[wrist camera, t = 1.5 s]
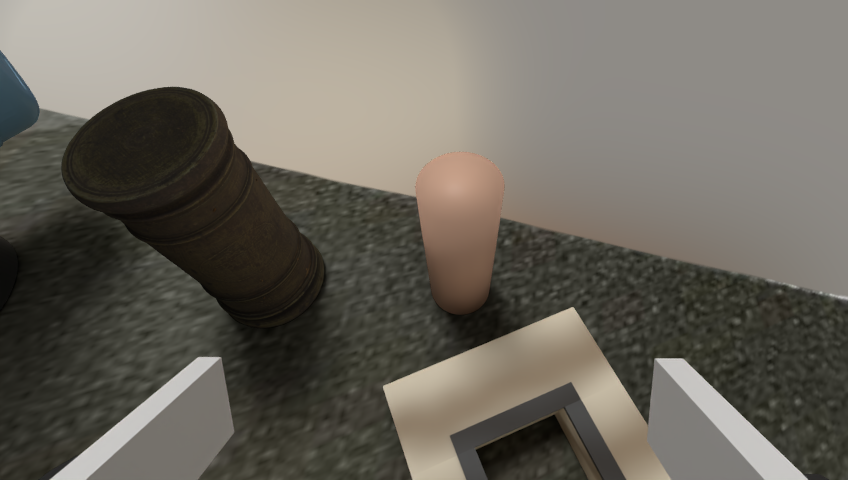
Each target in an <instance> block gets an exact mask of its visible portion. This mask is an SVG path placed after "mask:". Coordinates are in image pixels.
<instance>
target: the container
mask: <svg viewBox="0 0 848 480" xmlns="http://www.w3.org/2000/svg"><path fill="white" fill-rule="evenodd" d="M62 176H63V180H64V182H65V184H66V186H67V188H68V189H69V191H70V192H71V194H72V195H73V196H74V197H75V198H76V199H77V200H78V201H80V202H81V203H82V204H84V205H86V206H88V207H90V208H92V209H94V210H97V211H100V212H103V213H105V214H106V215H108V216H110V217H112V218H115V219H118V220H120V221H122V222H123V223H124V224H125V226H126V228H127V229H128V230H129V232H130V233H131V234H132V235H133V236H135V237H136V238H138V239H140V240H141V241H144V242H146V243H148V244H149V245H150V246H151V247H153V248H154V249H155V250H157V251H158V252H159V253H161V254H162V255H163V256H165V257H166V258H167V259H169V260H170V261H171V262H173V263H174V264H175V265H177V266H178V267H180V268H181V269H182V270H183V271H185V272H186V273H187V274H189V275H190V276H191V277H193V278H194V279H195V280H197V281H198V282H199V283H200V284H201V285H202V287H203V288H204V289H205V290H206V292H207V293H209V294H210V295H211V296H213V297H215V298H216V299H217V301H218V303H219V305H220V306H221V307H222V308H223V309H224V310H225V311H226V312H227V313H229V315H230V316H231V317H232V318H234V319H235V320H236V321H238V322H240V323H242V324H244V325H247V326H250V327H256V328H270V327H275V326H279V325H282V324H285V323H287V322H289V321H291V320H293V319H295V318H296V317H298V316H299V315H301V314H302V313H303V312H304V311H305V310H306V309H307V308H308V307H309V306H310V305H311V304H312V303H313V301H314V300H315V298H316V297H317V295H318V293H319V291H320V289H321V286H322V283H323V279H324V263H323V259H322V256H321V254H320V252H319V251H318V249H317V248H316V247H315V246H314V245H313V244H312V242H311V241H310V240H309V239H308V238H307V237H306V236H305V235H303V234H302V233H300V232H299V230H298V228H297V227H296V225H295V224H294V223H293V222H292V221H291V220H290V219H288V218H287V217H286V215H285V214H284V213H283V211H282V210H281V208H280V207H279V205H278V204H277V202H276V201H275V199H274V198H273V197H272V195H271V194H270V192H269V190H268V189H267V187H266V186H265V184H264V183H263V181H262V180H261V178H260V177H259V175H258V174H257V172H256V171H255V170H254V168H253V167H252V164H251V161H250V160H249V158H248V157H247V155H246V154H245V153H244V152H243V151H242V150H240V149H239V148H238V147H237V146H236V145H235V144H234V140H233V137H232V134H231V132H230V130H229V129H228V125H227V121H226V118H225V116H224V114H223V112H222V111H221V109H220V108H219V107H218V105H217V104H215V102H213V101H212V100H211V99H210V98H208V97H207V96H205V95H204V94H202V93H200V92H198V91H195V90H192V89H187V88H182V87H163V88H157V89H151V90H147V91H143V92H140V93H136V94H134V95H131V96H129V97H126V98H124V99H121V100H119V101H117V102H115V103H113V104H112V105H110V106H108V107H107V108H105V109H103V110H102V111H100V112H99V113H97V114H96V115H95V116H94V117H92V118H91V119H90V120H89V121H88V122H86V123H85V124H84V125H83V126H82V127H81V129H80V130H79V131H78V132H77V133H76V135H75V136H74V137H73V139H72V140H71V141H70V143H69V144H68V146H67V148H66V150H65V153H64V156H63V159H62Z"/></svg>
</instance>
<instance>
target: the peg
mask: <svg viewBox="0 0 848 480" xmlns="http://www.w3.org/2000/svg"><path fill="white" fill-rule="evenodd" d="M415 188H416V197H417V203H418V209H419V216H420V222H421V229H422V235H423V241H424V248H425V254H426V261H427V267H428V273H429V280H430V286H431V292H432V296H433V298H434V300H435V302H436V303H437V305H438V306H439V307H441V308H442V309H443V310H445V311H447V312H449V313H452V314H457V315H465V314H469V313H472V312H474V311H476V310H478V309H479V308H480V307H482V305H483V304H484V303H485V302H486V300H487V298H488V295H489V289H490V283H491V276H492V269H493V262H494V256H495V249H496V242H497V235H498V229H499V222H500V215H501V209H502V202H503V195H504V179H503V176H502V174H501V172H500V170H499V169H498V168H497V166H496V165H495V164H494V163H492V162H491V161H490V160H488V159H487V158H485V157H482V156H480V155H477V154H474V153H469V152H453V153H447V154H444V155H441V156H439V157H437V158H435V159H433V160H432V161H430V162H429V163H427V165H425V166H424V167H423V169H422V170H421V171H420V173H419V175H418V177H417V181H416V186H415Z"/></svg>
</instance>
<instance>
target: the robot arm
mask: <svg viewBox="0 0 848 480" xmlns="http://www.w3.org/2000/svg"><path fill="white" fill-rule="evenodd" d="M39 112H40V111H39V105H38V103H37V100H36V98H35V97H34V95H33V93H32V92H31V90H30V89H29V87H28V86H27V85H26V83H25V82H24V80H23V79H22V78H21V76H20V75H19V74H18V72H17V71H16V70H15V68H14V67H13V66H12V64H11V63H10V62H9V61H8V59H7V58H6V57H5V55H4V54H3V53H2V52H1V51H0V147H1V146H2V145H3V142H4V141H6V140H8V139H10V138H11V137H13V136H15V135H17V134H19V133H20V132H22V131H24V130H26V129H27V128H29V127H31V126H32V125H33V124H34V123H35V122H36V121H37V120H38V116H39ZM17 270H18V259H17V255H16V252H15V250H14V248H13V246H12V245H11V244H10V243H9V242H8V241H7V240H5V239H4V238H2V237H0V310H1V308H2V307H3V305H4V304H5V302H6V300H7V298H8V297H9V295H10V293H11V290H12V288H13V286H14V283H15V280H16V276H17ZM233 433H234V427H233V421H232V416H231V410H230V404H229V399H228V393H227V387H226V382H225V376H224V370H223V365H222V359H221V357H198V358H197V359H195V360H194V361H193V362H192V363H191V364H189V365H188V366H187V367H186V368H185V369H183V370H182V371H181V372H180V373H179V374H177V375H176V376H175V377H174V378H172V379H171V380H170V381H169V382H168V383H166V384H165V385H164V386H163V387H162V388H160V389H159V390H158V391H157V392H155V393H154V394H153V395H152V396H151V397H149V398H148V399H147V400H146V401H145V402H143V403H142V404H141V405H140V406H138V407H137V408H136V409H135V410H134V411H132V412H131V413H130V414H129V415H128V416H126V417H125V418H124V419H123V420H121V421H120V422H119V423H118V424H117V425H115V426H114V427H113V428H112V429H111V430H109V431H108V432H107V433H106V434H105V435H103V436H102V437H101V438H100V439H98V440H97V441H96V442H95V443H94V444H92V445H91V446H90V447H89V448H88V449H86V450H85V451H84V452H83V453H81V454H80V455H79V456H75V457H73V458H72V459H70V460H68V461H66V462H65V463H63V464H61V465H59V466H58V467H56V468H54V469H52V470H51V471H49V472H48V473H46V474H45V475H44V476H43V477H41V478H40V479H39V480H198V479H199V477H200V476H201V475H202V473H203V472H204V471H205V470H206V468H207V467H208V466H209V464H210V463H211V462H212V460H213V459H214V458H215V457H216V455H217V454H218V453H219V451H220V450H221V449H222V448H223V446H224V445H225V444H226V442H227V441H228V440H229V439H230V437H231V436H232V435H233ZM647 442H648V443H649V445H650V447H651V448H652V450H653V451H654V453H655V455H656V456H657V458H658V459H659V461H660V462H661V464H662V466H663V467H664V469H665V470H666V472H667V474H668V475H669V477H670V478H671V480H828V479H827V478H825V477H824V476H822V475H820V474H802V473H801V472H800V471H799V470H798V469H797V468H796V467H795V466H794V465H792V464H791V463H790V462H789V461H788V460H787V459H786V458H785V457H784V456H783V455H782V454H781V453H780V452H779V451H778V450H777V449H776V448H775V447H774V446H773V445H772V444H771V443H770V442H769V441H768V440H767V439H766V438H765V437H763V436H762V435H761V434H760V433H759V432H758V431H757V430H756V429H755V428H754V427H753V426H752V425H751V424H750V423H749V422H748V421H747V420H746V419H745V418H744V417H743V416H742V415H741V414H740V413H739V412H738V411H737V410H736V409H734V408H733V407H732V406H731V405H730V404H729V403H728V402H727V401H726V400H725V399H724V398H723V397H722V396H721V395H720V394H719V393H718V392H717V391H716V390H715V389H714V388H713V387H712V386H711V385H710V384H709V383H708V382H707V381H706V380H704V379H703V378H702V377H701V376H700V375H699V374H698V373H697V372H696V371H695V370H694V369H693V368H692V367H691V366H690V365H689V364H688V363H687V362H686V361H685V360H684V359H655V362H654V372H653V383H652V393H651V403H650V414H649V424H648V434H647Z"/></svg>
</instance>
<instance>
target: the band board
mask: <svg viewBox="0 0 848 480" xmlns="http://www.w3.org/2000/svg"><path fill="white" fill-rule="evenodd" d="M383 389H384V392H385V395H386V398H387V401H388V404H389V407H390V411H391V414H392V417H393V420H394V423H395V426H396V429H397V432H398V436H399V439H400V442H401V445H402V448H403V451H404V454H405V457H406V461H407V464H408V467H409V470H410V473H411V476H412V479H413V480H488V479H487V477H486V474H485V472H484V469H483V467H482V464H481V462H480V459H479V457H478V454H477V452H476V449H478V448H481V447H483V446H485V445H487V444H490V443H492V442H494V441H496V440H498V439H501V438H503V437H505V436H507V435H510V434H512V433H514V432H516V431H518V430H521V429H523V428H525V427H527V426H530V425H532V424H534V423H536V422H538V421H541V420H543V419H545V418H547V417H550V416H552V415H554V414H555V416H556V418H557V420H558V422H559V424H560V426H561V428H562V430H563V432H564V433H565V435H566V437H567V439H568V441H569V443H570V445H571V447H572V449H573V451H574V453H575V455H576V457H577V458H578V460H579V462H580V464H581V466H582V468H583V470H584V472H585V474H586V476H587V478H588V480H671V478H670V477H669V475H668V474H667V472H666V470H665V469H664V467H663V466H662V464H661V462H660V461H659V459H658V458H657V456H656V455H655V453H654V451H653V450H652V448H651V447H650V445H649V443H648V442H647V434H648V425H647V424H646V422H645V420H644V419H643V417H642V416H641V414H640V413H639V411H638V409H637V408H636V406H635V405H634V403H633V401H632V400H631V398H630V397H629V395H628V393H627V392H626V390H625V389H624V387H623V385H622V384H621V382H620V381H619V379H618V377H617V376H616V374H615V373H614V371H613V369H612V368H611V366H610V365H609V363H608V362H607V360H606V358H605V357H604V355H603V354H602V352H601V350H600V349H599V347H598V346H597V344H596V342H595V341H594V339H593V338H592V336H591V334H590V333H589V331H588V330H587V328H586V326H585V325H584V323H583V322H582V320H581V318H580V317H579V315H578V314H577V312H576V310H575V309H574V307H572V308H569V309H567V310H565V311H562V312H560V313H557V314H555V315H553V316H550V317H548V318H545V319H543V320H541V321H538V322H536V323H533V324H531V325H529V326H526V327H524V328H521V329H519V330H517V331H514V332H512V333H509V334H507V335H505V336H502V337H500V338H497V339H495V340H493V341H490V342H488V343H485V344H483V345H481V346H478V347H476V348H473V349H471V350H469V351H466V352H464V353H461V354H459V355H457V356H454V357H452V358H449V359H447V360H445V361H442V362H440V363H437V364H435V365H433V366H430V367H428V368H425V369H423V370H421V371H418V372H416V373H413V374H411V375H409V376H406V377H404V378H401V379H399V380H397V381H394V382H392V383H389V384H387V385H385V386H383Z"/></svg>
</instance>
